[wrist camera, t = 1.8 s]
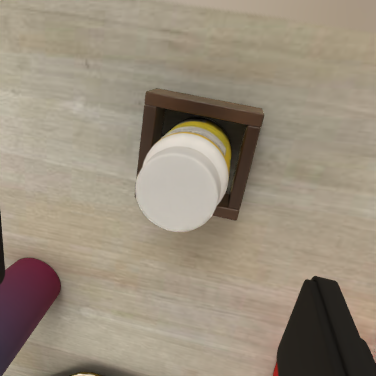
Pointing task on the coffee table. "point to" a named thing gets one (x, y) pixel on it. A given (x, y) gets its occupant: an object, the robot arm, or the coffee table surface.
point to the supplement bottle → (185, 175)
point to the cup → (24, 304)
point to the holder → (210, 108)
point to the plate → (85, 374)
